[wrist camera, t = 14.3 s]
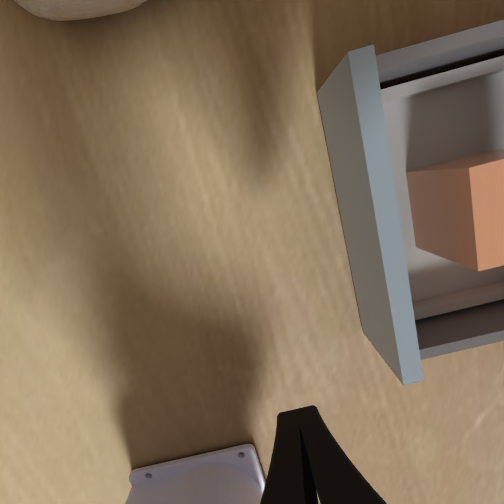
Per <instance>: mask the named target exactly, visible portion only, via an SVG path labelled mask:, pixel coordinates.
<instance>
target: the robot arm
mask: <svg viewBox="0 0 504 504" xmlns="http://www.w3.org/2000/svg"><path fill="white" fill-rule="evenodd" d="M240 452H243V453H240ZM149 473H150V474H149ZM129 480H130V483H131V485H132V488H131V490H130V493H129V496H128V498H127V501H126V503H125V504H318V498H317V493H318V496H319V500H320V503H321V504H387V503H386V502H385V501H384V500H383V499H382V498H381V497H380V496H379V495H378V493H377V492H376V491H375V490H374V489H373V488H372V487H371V485H370V484H369V483H368V482H367V481H366V480H365V478H364V477H363V476H362V475H361V473H360V472H359V471H358V470H357V469H356V467H355V466H354V465H353V464H352V462H351V461H350V460H349V458H348V457H347V456H346V454H345V453H344V452H343V450H342V449H341V447H340V446H339V445H338V443H337V442H336V440H335V439H334V437H333V436H332V434H331V433H330V431H329V430H328V428H327V426H326V425H325V423H324V421H323V420H322V418H321V416H320V414H319V412H318V409H317V407H315V406H314V405H312V406H308V407H303V408H299V409H294V410H290V411H286V412H281V413H279V414H278V416H277V428H276V436H275V442H274V448H273V453H272V458H271V463H270V467H269V472H268V476H267V479H266V482H265V479H264V476H263V473H262V469H261V466H260V463H259V460H258V457H257V453H256V450H255V447H254V446H253V445H252V444H244V445H240V446H235V447H231V448H226V449H222V450H217V451H213V452H208V453H204V454H200V455H195V456H191V457H186V458H182V459H177V460H173V461H169V462H164V463H160V464H155V465H151V466H146V467H142V468H138V469H134V470H132V471H131V473H130V475H129ZM316 490H317V491H316Z"/></svg>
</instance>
